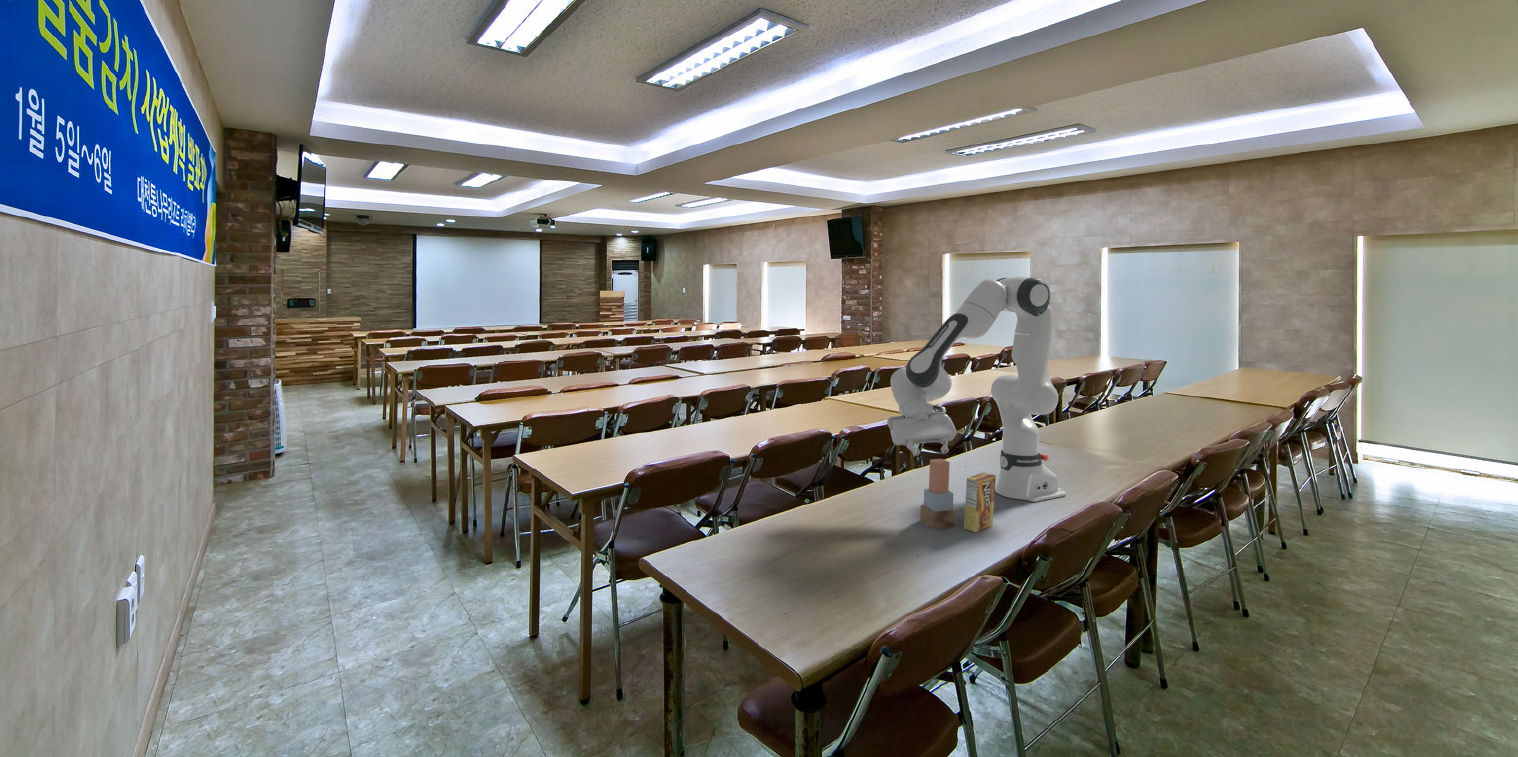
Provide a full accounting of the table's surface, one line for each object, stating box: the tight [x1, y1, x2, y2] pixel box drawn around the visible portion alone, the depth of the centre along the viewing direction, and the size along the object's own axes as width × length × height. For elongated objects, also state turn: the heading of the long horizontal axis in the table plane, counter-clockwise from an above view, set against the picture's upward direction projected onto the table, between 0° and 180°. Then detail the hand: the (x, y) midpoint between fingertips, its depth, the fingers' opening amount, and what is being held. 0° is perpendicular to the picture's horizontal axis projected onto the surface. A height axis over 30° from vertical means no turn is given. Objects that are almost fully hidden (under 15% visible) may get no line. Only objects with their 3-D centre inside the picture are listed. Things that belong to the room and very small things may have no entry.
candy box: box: [963, 472, 997, 533], centre depth 195 cm, size 9×4×15 cm, turn 129°
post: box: [928, 458, 951, 494], centre depth 197 cm, size 4×4×9 cm
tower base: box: [919, 504, 955, 530], centre depth 199 cm, size 7×7×5 cm
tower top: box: [923, 487, 954, 512], centre depth 198 cm, size 6×6×5 cm
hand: (931, 453), depth 202 cm, fingers open, 8 cm apart
